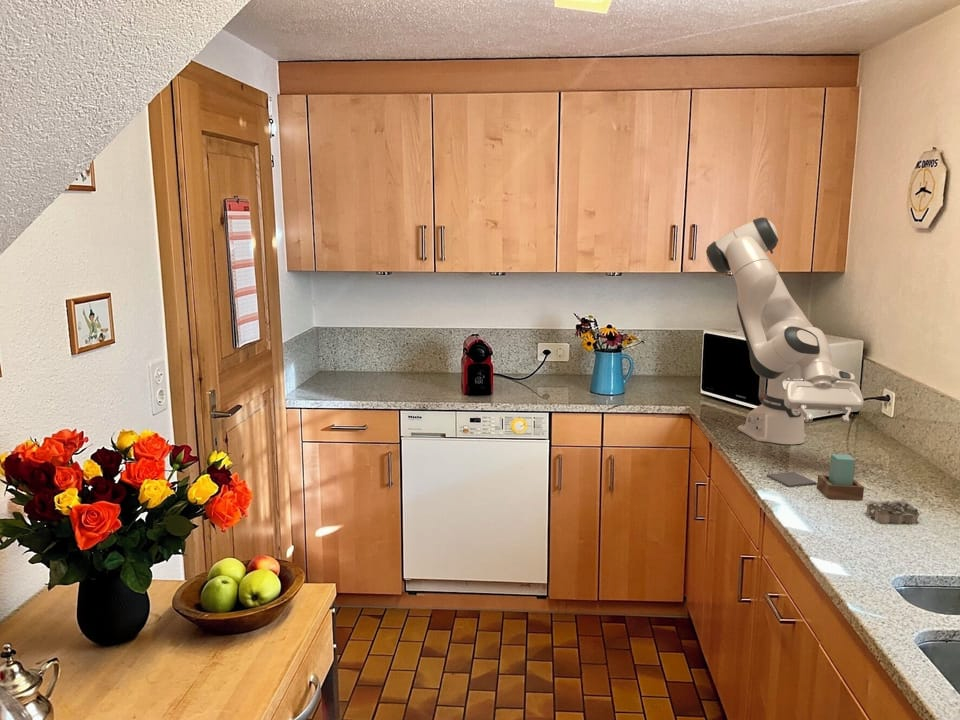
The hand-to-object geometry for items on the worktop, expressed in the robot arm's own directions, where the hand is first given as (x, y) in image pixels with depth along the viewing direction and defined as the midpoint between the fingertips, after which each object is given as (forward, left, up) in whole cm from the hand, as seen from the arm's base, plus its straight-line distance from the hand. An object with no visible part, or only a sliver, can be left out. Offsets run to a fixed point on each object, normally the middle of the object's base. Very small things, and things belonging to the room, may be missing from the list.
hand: (827, 422), depth 207 cm
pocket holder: (+12, -5, -16) cm, 20 cm away
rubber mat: (0, -10, -16) cm, 19 cm away
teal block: (+12, -5, -16) cm, 20 cm away
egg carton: (+28, -5, -16) cm, 33 cm away
